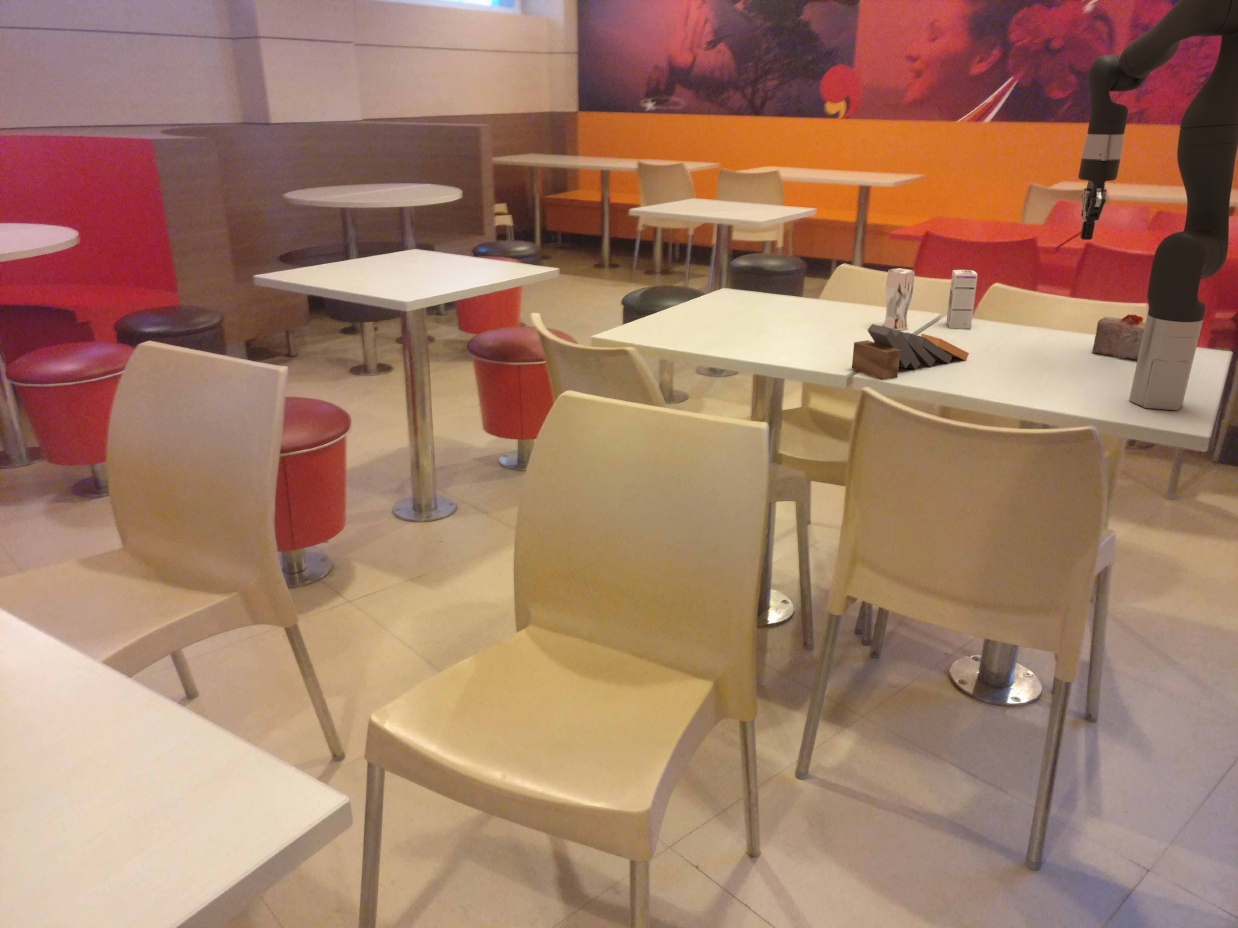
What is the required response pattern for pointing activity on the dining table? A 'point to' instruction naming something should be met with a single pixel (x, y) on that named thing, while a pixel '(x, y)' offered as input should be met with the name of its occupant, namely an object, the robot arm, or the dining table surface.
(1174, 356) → the robot arm
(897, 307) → the beer glass
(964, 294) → the syrup box
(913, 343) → the domino
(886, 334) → the domino
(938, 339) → the orange tile
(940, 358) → the domino
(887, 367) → the block
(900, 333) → the domino
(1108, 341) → the food item
